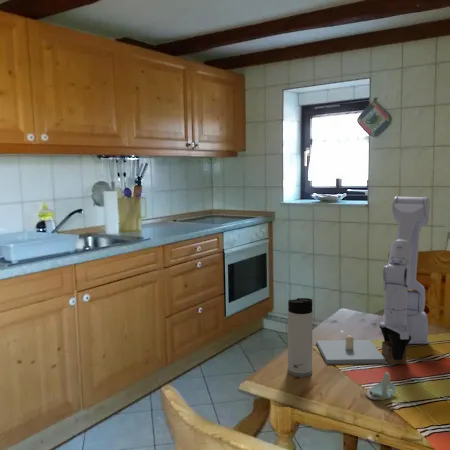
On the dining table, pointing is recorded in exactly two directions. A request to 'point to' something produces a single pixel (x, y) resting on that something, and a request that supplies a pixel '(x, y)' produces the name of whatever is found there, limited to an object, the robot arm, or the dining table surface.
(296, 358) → the travel mug
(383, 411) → the dining table surface
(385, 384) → the pacifier
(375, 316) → the dining table surface
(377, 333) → the dining table surface
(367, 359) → the grey rectangular slab
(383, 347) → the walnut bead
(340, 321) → the dining table surface
